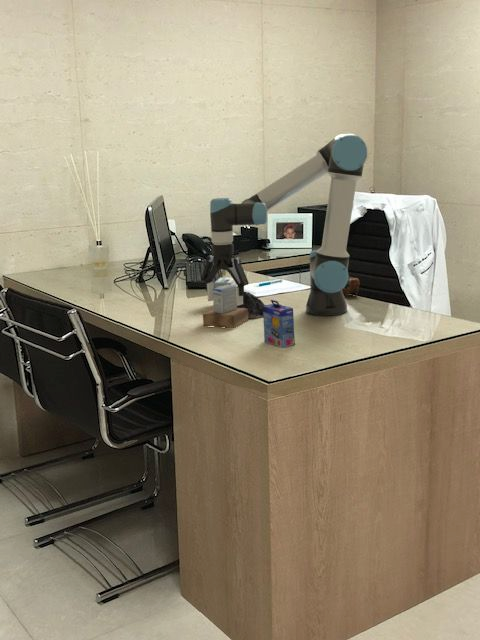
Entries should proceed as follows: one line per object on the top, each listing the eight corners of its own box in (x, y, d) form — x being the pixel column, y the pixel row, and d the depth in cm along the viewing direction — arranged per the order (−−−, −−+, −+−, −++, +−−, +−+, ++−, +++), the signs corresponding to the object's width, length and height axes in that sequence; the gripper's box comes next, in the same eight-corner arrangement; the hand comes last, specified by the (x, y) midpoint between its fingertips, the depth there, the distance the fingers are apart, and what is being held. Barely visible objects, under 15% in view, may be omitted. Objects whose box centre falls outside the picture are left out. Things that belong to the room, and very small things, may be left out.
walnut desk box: (248, 322, 287) (247, 308, 286) (234, 330, 276) (233, 315, 275) (218, 320, 292) (217, 306, 290) (203, 328, 281) (202, 313, 280)
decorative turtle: (352, 299, 314) (350, 279, 312) (326, 296, 326) (324, 277, 324) (369, 294, 319) (367, 275, 318) (343, 291, 331) (341, 273, 330)
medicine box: (228, 308, 287) (227, 284, 285) (237, 309, 284) (236, 285, 282) (213, 312, 281) (212, 288, 279) (222, 313, 278) (221, 289, 276)
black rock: (273, 314, 298) (272, 288, 297) (257, 319, 286) (255, 292, 285) (242, 314, 304) (240, 289, 303) (225, 319, 292) (223, 292, 291)
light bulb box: (232, 309, 305) (231, 282, 302) (215, 309, 306) (213, 282, 304) (237, 303, 315) (236, 277, 313) (221, 303, 316) (220, 277, 314)
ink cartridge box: (263, 342, 258) (261, 298, 255) (276, 339, 261) (275, 295, 258) (281, 348, 250) (280, 303, 247) (295, 345, 253) (294, 300, 250)
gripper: (257, 243, 272) (259, 304, 277) (203, 239, 288) (206, 297, 293) (243, 246, 266) (245, 308, 271) (189, 242, 282) (192, 300, 287)
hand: (225, 302), depth 282 cm, fingers open, 13 cm apart
